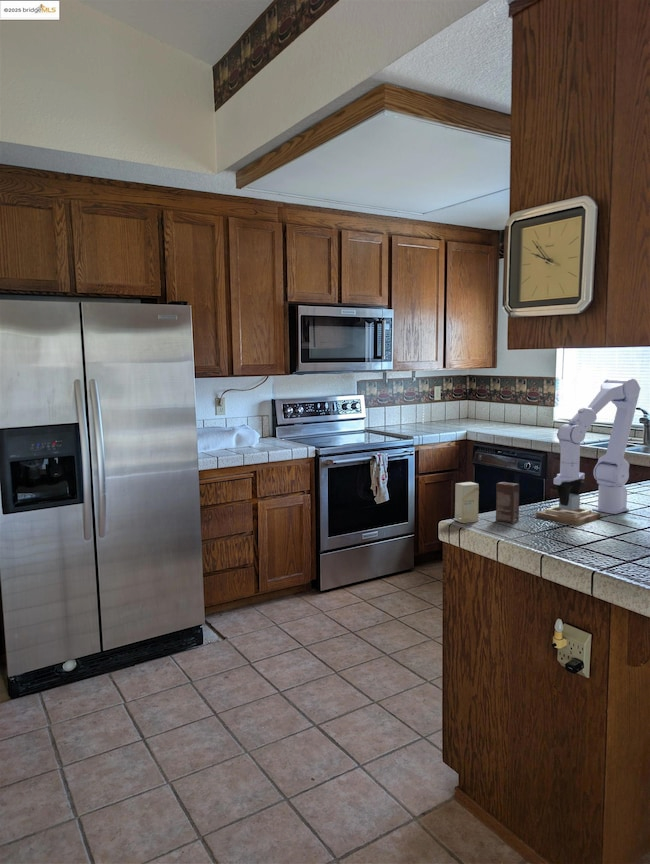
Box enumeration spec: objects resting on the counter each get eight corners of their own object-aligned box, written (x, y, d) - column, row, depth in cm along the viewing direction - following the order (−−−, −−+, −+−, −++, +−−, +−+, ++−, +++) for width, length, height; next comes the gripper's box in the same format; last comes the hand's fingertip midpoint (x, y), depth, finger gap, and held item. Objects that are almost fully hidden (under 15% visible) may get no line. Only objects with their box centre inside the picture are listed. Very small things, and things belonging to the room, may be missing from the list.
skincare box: (462, 523, 191) (463, 485, 189) (454, 520, 195) (454, 483, 193) (479, 521, 193) (479, 483, 192) (470, 518, 197) (470, 481, 196)
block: (566, 506, 199) (567, 492, 198) (579, 508, 195) (580, 495, 195) (558, 508, 196) (559, 494, 196) (571, 511, 193) (572, 497, 192)
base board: (560, 509, 206) (561, 502, 206) (600, 517, 195) (600, 510, 195) (536, 516, 198) (536, 509, 197) (576, 525, 187) (576, 517, 186)
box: (519, 520, 193) (520, 483, 192) (512, 523, 190) (513, 485, 188) (501, 517, 197) (502, 481, 196) (494, 520, 194) (495, 483, 193)
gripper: (571, 457, 202) (569, 498, 203) (545, 463, 193) (544, 505, 195) (591, 460, 196) (589, 502, 198) (565, 465, 187) (564, 509, 189)
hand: (568, 503), depth 196 cm, fingers closed on block, 4 cm apart
